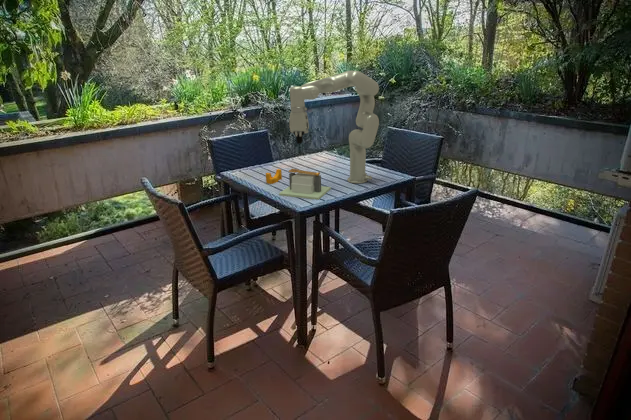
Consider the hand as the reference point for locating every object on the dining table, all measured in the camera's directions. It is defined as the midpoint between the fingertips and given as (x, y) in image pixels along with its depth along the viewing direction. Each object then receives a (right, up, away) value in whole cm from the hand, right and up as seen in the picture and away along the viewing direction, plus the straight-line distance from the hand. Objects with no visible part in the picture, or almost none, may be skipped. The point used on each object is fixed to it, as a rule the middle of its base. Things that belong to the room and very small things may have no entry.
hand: (299, 143), depth 236 cm
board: (+3, -27, +7) cm, 28 cm away
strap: (+3, -17, +3) cm, 17 cm away
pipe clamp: (-17, -20, +28) cm, 38 cm away
